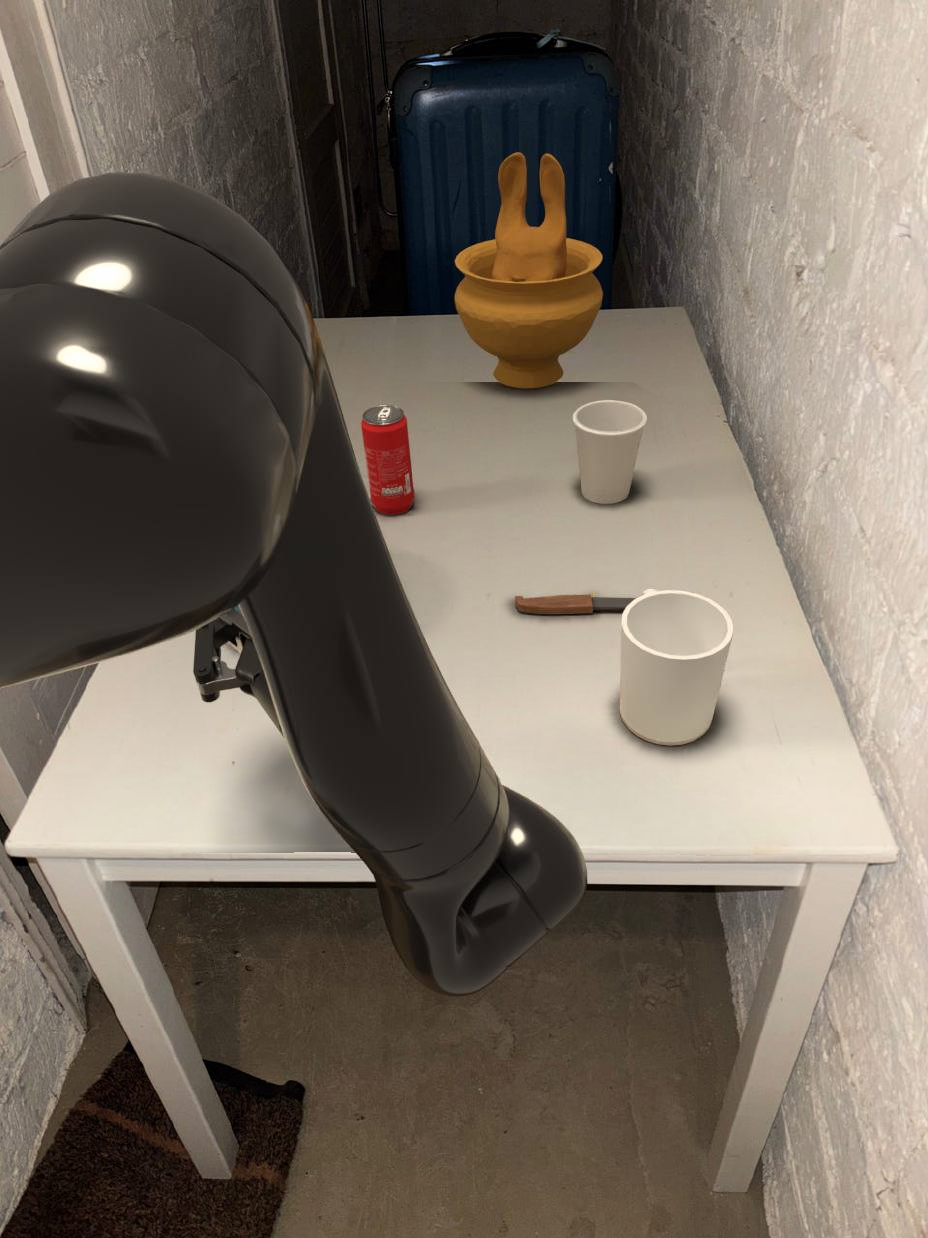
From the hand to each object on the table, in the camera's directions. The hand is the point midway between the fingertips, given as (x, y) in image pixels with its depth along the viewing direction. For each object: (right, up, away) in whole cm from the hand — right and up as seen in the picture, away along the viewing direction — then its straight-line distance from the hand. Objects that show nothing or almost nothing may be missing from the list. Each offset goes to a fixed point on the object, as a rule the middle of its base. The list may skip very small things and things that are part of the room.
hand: (237, 584), depth 69 cm
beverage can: (+9, +11, +41) cm, 43 cm away
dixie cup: (+34, +13, +41) cm, 55 cm away
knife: (+31, -1, +23) cm, 39 cm away
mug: (+35, -11, +12) cm, 38 cm away
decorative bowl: (+27, +34, +68) cm, 81 cm away
